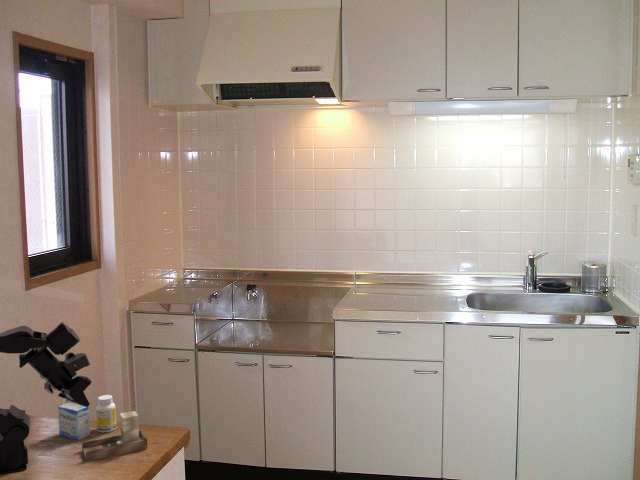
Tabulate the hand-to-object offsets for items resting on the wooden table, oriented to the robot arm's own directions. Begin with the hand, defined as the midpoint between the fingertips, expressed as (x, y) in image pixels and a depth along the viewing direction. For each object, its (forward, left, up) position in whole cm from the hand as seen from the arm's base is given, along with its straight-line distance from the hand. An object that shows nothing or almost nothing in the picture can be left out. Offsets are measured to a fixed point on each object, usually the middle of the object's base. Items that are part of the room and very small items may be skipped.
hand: (88, 405), depth 183 cm
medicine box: (-2, +14, -13) cm, 20 cm away
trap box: (+6, -1, -13) cm, 15 cm away
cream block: (+10, -1, -12) cm, 16 cm away
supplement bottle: (+7, +14, -13) cm, 21 cm away
